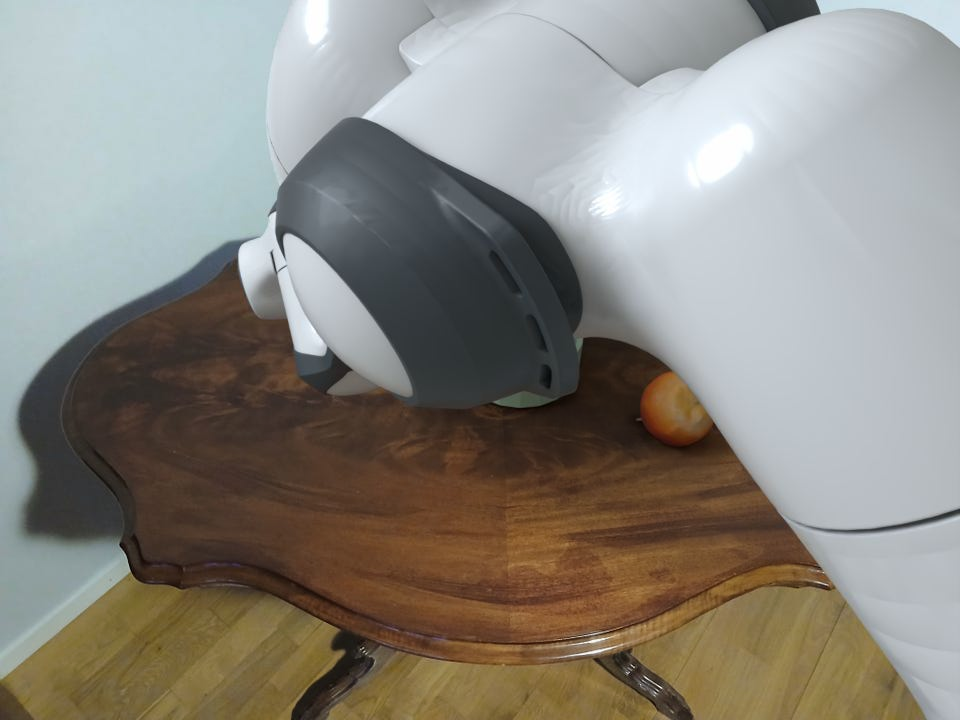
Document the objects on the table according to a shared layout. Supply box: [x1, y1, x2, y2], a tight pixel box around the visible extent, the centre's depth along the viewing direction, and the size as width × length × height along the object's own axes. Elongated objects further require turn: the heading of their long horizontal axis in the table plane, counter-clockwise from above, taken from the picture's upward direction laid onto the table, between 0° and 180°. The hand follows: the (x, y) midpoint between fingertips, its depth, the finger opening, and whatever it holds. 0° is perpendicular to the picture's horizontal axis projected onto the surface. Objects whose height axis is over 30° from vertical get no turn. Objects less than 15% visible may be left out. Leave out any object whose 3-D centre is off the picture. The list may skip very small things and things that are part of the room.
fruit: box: [635, 370, 714, 448], centre depth 79 cm, size 8×8×8 cm
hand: (535, 228), depth 77 cm, fingers closed on muddler, 2 cm apart
